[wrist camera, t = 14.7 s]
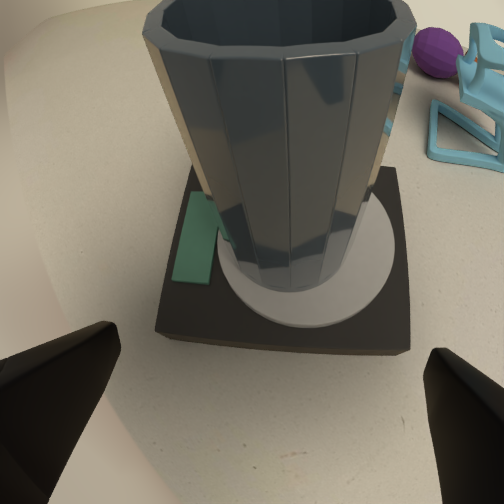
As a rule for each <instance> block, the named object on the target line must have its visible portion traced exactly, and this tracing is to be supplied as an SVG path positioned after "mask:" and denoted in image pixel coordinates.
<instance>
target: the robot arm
mask: <svg viewBox="0 0 504 504" xmlns="http://www.w3.org/2000/svg"><path fill="white" fill-rule="evenodd" d="M120 352H121V343H120V339H119V335H118V330H117V327H116V325H115V323H113V322H108V321H100V322H98V323H95V324H92V325H90V326H87V327H85V328H82V329H80V330H77V331H75V332H72V333H69V334H67V335H64V336H62V337H59V338H57V339H54V340H52V341H49V342H46V343H44V344H41V345H38V346H36V347H33V348H31V349H28V350H26V351H23V352H20V353H18V354H15V355H13V356H10V357H8V358H5V359H2V360H0V504H47V503H48V502H49V498H50V497H51V495H52V492H53V490H54V488H55V486H56V484H57V482H58V480H59V477H60V476H61V474H62V472H63V470H64V468H65V466H66V464H67V462H68V459H69V457H70V455H71V454H72V452H73V449H74V448H75V446H76V444H77V442H78V440H79V438H80V436H81V434H82V432H83V430H84V428H85V426H86V424H87V423H88V421H89V419H90V417H91V415H92V413H93V411H94V409H95V408H96V406H97V404H98V402H99V400H100V398H101V396H102V394H103V392H104V390H105V388H106V386H107V384H108V381H109V379H110V376H111V374H112V371H113V369H114V367H115V364H116V362H117V360H118V357H119V355H120ZM423 381H424V388H425V396H426V404H427V413H428V422H429V427H430V433H431V437H432V442H433V447H434V453H435V458H436V464H437V469H438V475H439V482H440V488H441V495H442V503H443V504H504V388H503V387H501V386H500V385H499V384H497V383H496V382H494V381H493V380H492V379H490V378H489V377H487V376H486V375H485V374H483V373H482V372H480V371H479V370H478V369H476V368H475V367H473V366H472V365H471V364H469V363H468V362H466V361H465V360H463V359H462V358H461V357H459V356H458V355H456V354H455V353H453V352H452V351H451V350H449V349H448V348H434V349H432V351H431V353H430V356H429V359H428V361H427V364H426V367H425V369H424V373H423Z"/></svg>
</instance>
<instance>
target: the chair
mask: <svg viewBox="0 0 504 504" xmlns="http://www.w3.org/2000/svg"><path fill="white" fill-rule="evenodd" d="M493 39H494V40H498V41H501V42H503V43H504V30H503V29H501V28H498V27H496V26H493V25H489V24H486V23H471V24H470V37H469V49H468V52H467V54H466V55H465V56H462V55H459V54H458V56H457V59H456V67H457V72H458V77H459V93H460V102H463V103H465V104H467V105H470V106H472V107H474V108H476V109H479V110H481V111H482V112H484V113H485V114H486V115H488V116H489V117H491V118H492V119H493V120H494V121H495V136H493V135H492V134H490V133H489V132H487V131H486V130H484V129H483V128H481V127H480V126H478V125H477V124H476V123H474V122H473V121H471V120H470V119H468V118H467V117H465V116H464V115H462V114H461V113H459V112H457V111H456V110H454V109H453V108H451V107H449V106H448V105H446V104H444V103H442V102H440V101H438V100H435V99H433V100H432V102H431V106H430V122H429V137H428V149H427V156H428V157H429V158H430V159H433V160H436V161H441V162H448V163H455V164H462V165H469V166H476V167H482V168H487V169H492V170H496V171H499V172H503V173H504V76H503V75H501V74H499V73H496V72H494V71H492V70H490V69H496V70H502V71H504V48H503V47H501V46H499V45H498V44H496V42H495V41H494V40H493ZM476 55H477V56H478V59H477V62H475V61H474V60H475V58H476ZM438 112H440V113H441V114H443V115H445V116H446V117H448V118H449V119H451V120H452V121H454V122H455V123H457V124H458V125H460V126H461V127H462V128H464V129H465V130H467V131H468V132H470V133H471V134H472V135H474V136H475V137H477V138H478V139H479V140H481V141H482V142H483V143H485V144H486V145H488V146H489V147H490V148H492V149H493V150H495V151H496V152H498V155H497V156H493V155H488V154H482V153H475V152H468V151H460V150H451V149H443V148H438V147H437V145H436V140H437V124H438Z"/></svg>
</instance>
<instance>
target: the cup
mask: <svg viewBox="0 0 504 504" xmlns="http://www.w3.org/2000/svg"><path fill="white" fill-rule="evenodd" d="M416 27H417V23H416V21H415V18H414V16H413V14H412V12H411V9H410V7H409V6H408V5H407V4H406V3H405V2H404V1H402V0H163V1H162V2H160V3H159V4H158V5H157V6H156V7H155V8H154V9H152V10H151V11H150V12H149V13H148V15H147V17H146V20H145V24H144V27H143V31H142V35H143V38H144V41H145V44H146V46H147V49H148V51H149V54H150V57H151V59H152V62H153V65H154V67H155V70H156V72H157V75H158V78H159V80H160V83H161V86H162V88H163V91H164V93H165V96H166V98H167V101H168V104H169V106H170V109H171V111H172V114H173V116H174V119H175V121H176V124H177V126H178V129H179V132H180V134H181V137H182V139H183V142H184V144H185V147H186V149H187V152H188V154H189V157H190V159H191V162H192V164H193V167H194V169H195V172H196V174H197V176H198V179H199V181H200V184H201V186H202V189H203V191H204V194H205V196H206V199H207V201H208V203H209V206H210V208H211V211H212V213H213V216H214V218H215V220H216V223H217V225H218V228H219V230H220V233H221V235H222V237H223V240H224V242H225V245H226V247H227V249H228V251H229V253H230V254H231V256H232V258H233V260H234V262H235V264H236V266H237V267H238V268H239V270H240V271H241V272H242V273H243V274H244V275H245V276H246V277H247V278H248V279H250V280H251V281H253V282H254V283H256V284H258V285H259V286H261V287H264V288H267V289H269V290H273V291H278V292H301V291H306V290H309V289H312V288H315V287H317V286H320V285H321V284H323V283H325V282H326V281H328V280H329V279H330V278H332V277H333V276H334V275H335V274H336V273H337V272H338V271H339V269H340V268H341V267H342V265H343V264H344V262H345V260H346V258H347V256H348V253H349V252H350V250H351V248H352V245H353V243H354V240H355V238H356V235H357V232H358V229H359V227H360V224H361V221H362V218H363V216H364V213H365V210H366V207H367V204H368V201H369V199H370V196H371V193H372V190H373V187H374V184H375V181H376V178H377V175H378V172H379V169H380V165H381V162H382V159H383V156H384V153H385V149H386V146H387V143H388V139H389V136H390V133H391V129H392V126H393V122H394V119H395V115H396V112H397V108H398V104H399V100H400V97H401V93H402V89H403V85H404V81H405V77H406V73H407V69H408V64H409V60H410V56H411V51H412V47H413V42H414V37H415V32H416Z"/></svg>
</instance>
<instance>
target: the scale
mask: <svg viewBox="0 0 504 504" xmlns="http://www.w3.org/2000/svg"><path fill="white" fill-rule="evenodd" d="M155 332H157V333H159V334H161V335H163V336H165V337H167V338H169V339H174V340H181V341H188V342H195V343H203V344H211V345H219V346H228V347H237V348H247V349H258V350H269V351H282V352H296V353H313V354H335V355H378V356H396V355H398V354H401V353H403V352H406V351H408V350H410V296H409V277H408V262H407V251H406V240H405V231H404V222H403V214H402V206H401V199H400V192H399V186H398V180H397V174H396V168H395V167H386V166H380V169H379V172H378V175H377V178H376V181H375V184H374V187H373V190H372V193H371V196H370V199H369V201H368V204H367V207H366V210H365V213H364V216H363V218H362V221H361V224H360V227H359V229H358V232H357V235H356V238H355V240H354V243H353V245H352V248H351V250H350V252H349V253H348V256H347V258H346V260H345V262H344V264H343V265H342V267H341V268H340V269H339V271H338V272H337V273H336V274H335V275H334V276H333V277H332V278H330V279H329V280H328V281H326V282H325V283H323V284H321V285H320V286H317V287H315V288H312V289H309V290H306V291H301V292H278V291H273V290H269V289H267V288H264V287H261V286H259V285H258V284H256V283H254V282H253V281H251V280H250V279H248V278H247V277H246V276H245V275H244V274H243V273H242V272H241V271H240V270H239V268H238V267H237V266H236V264H235V262H234V260H233V258H232V256H231V254H230V253H229V251H228V249H227V247H226V245H225V242H224V240H223V237H222V235H221V233H220V230H219V228H218V225H217V223H216V220H215V218H214V216H213V213H212V211H211V208H210V206H209V203H208V201H207V199H206V196H205V194H204V191H203V189H202V186H201V184H200V181H199V179H198V176H197V174H196V172H195V169H194V167H193V164H192V166H191V170H190V173H189V177H188V181H187V184H186V188H185V192H184V196H183V200H182V204H181V208H180V212H179V216H178V220H177V224H176V229H175V233H174V237H173V242H172V246H171V250H170V255H169V259H168V264H167V269H166V274H165V278H164V283H163V288H162V293H161V298H160V303H159V309H158V314H157V319H156V325H155Z"/></svg>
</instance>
